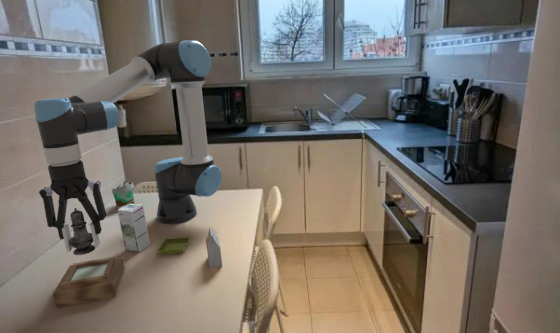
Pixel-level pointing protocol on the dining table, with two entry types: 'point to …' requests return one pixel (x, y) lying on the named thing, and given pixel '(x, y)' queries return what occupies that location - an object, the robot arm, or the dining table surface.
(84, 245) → the salt shaker
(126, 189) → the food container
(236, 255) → the dining table surface
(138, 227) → the syrup box
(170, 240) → the olive green shallow tray
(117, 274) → the display pedestal
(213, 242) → the grey upright block
